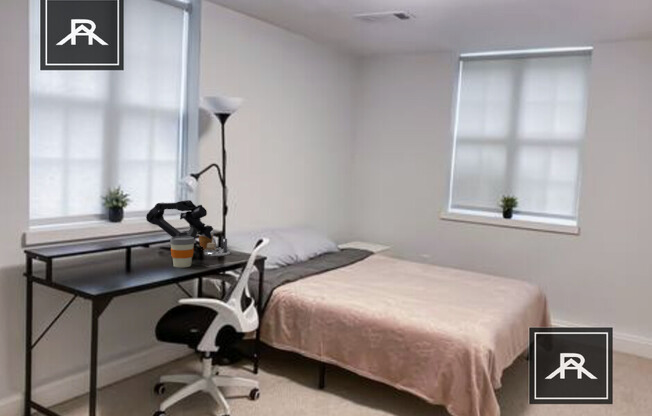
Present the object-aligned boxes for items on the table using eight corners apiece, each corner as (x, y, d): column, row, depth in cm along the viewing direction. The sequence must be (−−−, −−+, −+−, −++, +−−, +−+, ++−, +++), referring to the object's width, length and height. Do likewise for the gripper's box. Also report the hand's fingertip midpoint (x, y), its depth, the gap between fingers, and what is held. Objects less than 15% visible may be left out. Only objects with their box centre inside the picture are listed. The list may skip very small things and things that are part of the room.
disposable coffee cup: (194, 251, 324) (194, 231, 323) (204, 248, 333) (204, 229, 332) (207, 252, 320) (207, 233, 319) (216, 250, 329) (216, 231, 328)
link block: (213, 250, 310) (213, 244, 309) (206, 250, 310) (207, 243, 309) (215, 249, 314) (215, 243, 313) (208, 249, 314) (208, 242, 313)
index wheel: (227, 256, 304) (227, 240, 303) (201, 255, 304) (201, 239, 303) (232, 251, 318) (232, 236, 318) (207, 251, 319) (207, 235, 318)
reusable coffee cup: (164, 266, 280) (164, 238, 278) (181, 262, 291) (181, 235, 289) (182, 269, 274) (183, 240, 272) (199, 265, 285) (199, 237, 283)
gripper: (176, 229, 298) (194, 246, 306) (190, 233, 283) (209, 252, 291) (189, 214, 302) (207, 232, 310) (204, 218, 288) (222, 237, 296)
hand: (211, 238), depth 302 cm, fingers closed
